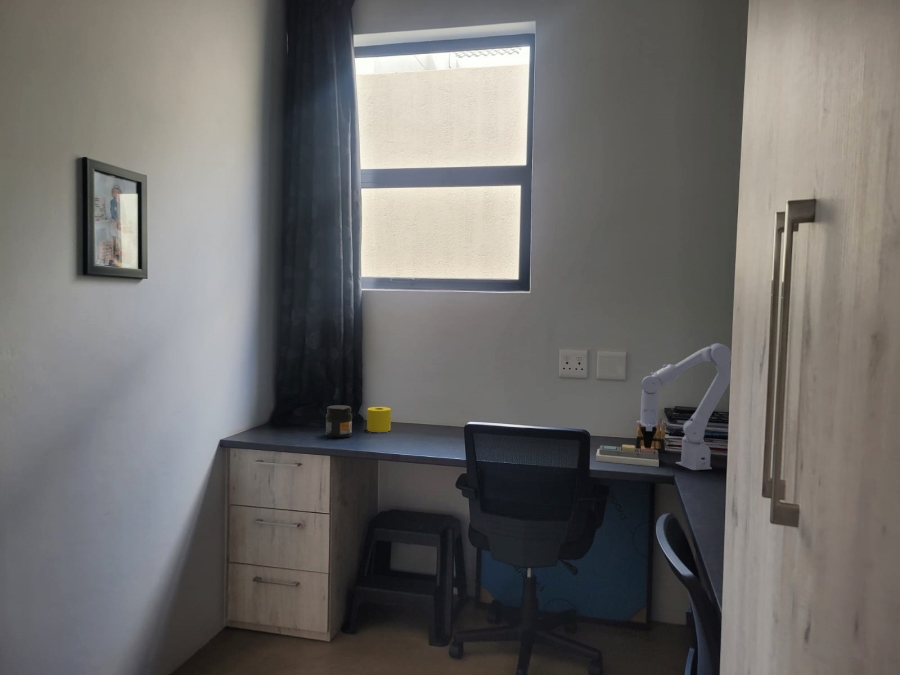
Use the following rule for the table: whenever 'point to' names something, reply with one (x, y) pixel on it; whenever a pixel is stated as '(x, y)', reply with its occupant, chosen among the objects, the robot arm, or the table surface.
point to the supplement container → (338, 421)
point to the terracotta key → (647, 450)
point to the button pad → (627, 457)
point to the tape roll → (379, 419)
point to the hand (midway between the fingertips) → (647, 447)
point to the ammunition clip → (657, 442)
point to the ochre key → (628, 448)
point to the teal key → (609, 448)
